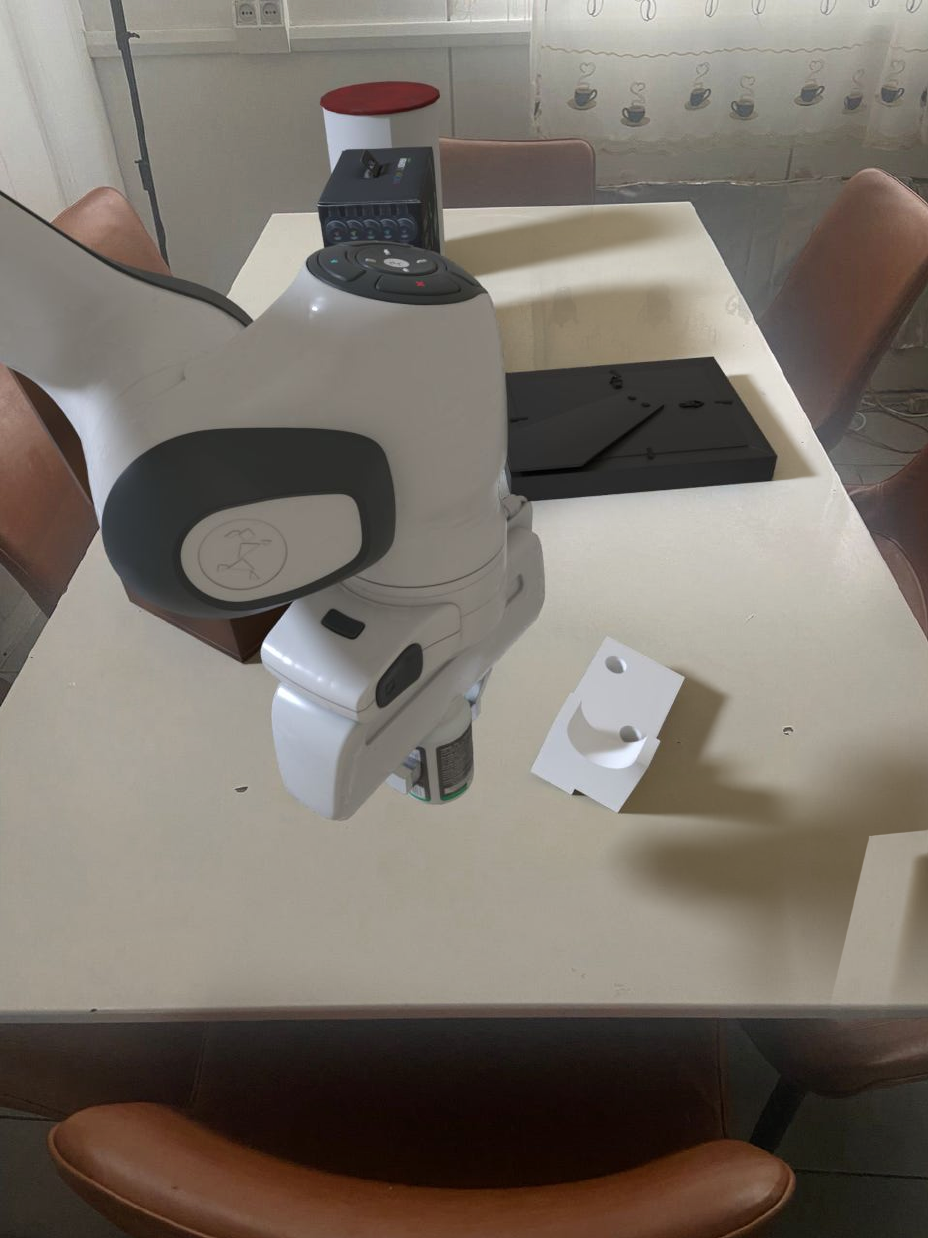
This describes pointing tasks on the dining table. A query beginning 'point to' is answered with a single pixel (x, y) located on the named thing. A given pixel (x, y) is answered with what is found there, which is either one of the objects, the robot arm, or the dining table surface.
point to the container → (384, 123)
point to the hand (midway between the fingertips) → (433, 749)
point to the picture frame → (630, 430)
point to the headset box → (382, 198)
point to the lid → (57, 430)
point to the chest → (220, 627)
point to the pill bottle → (446, 757)
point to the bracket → (609, 726)
